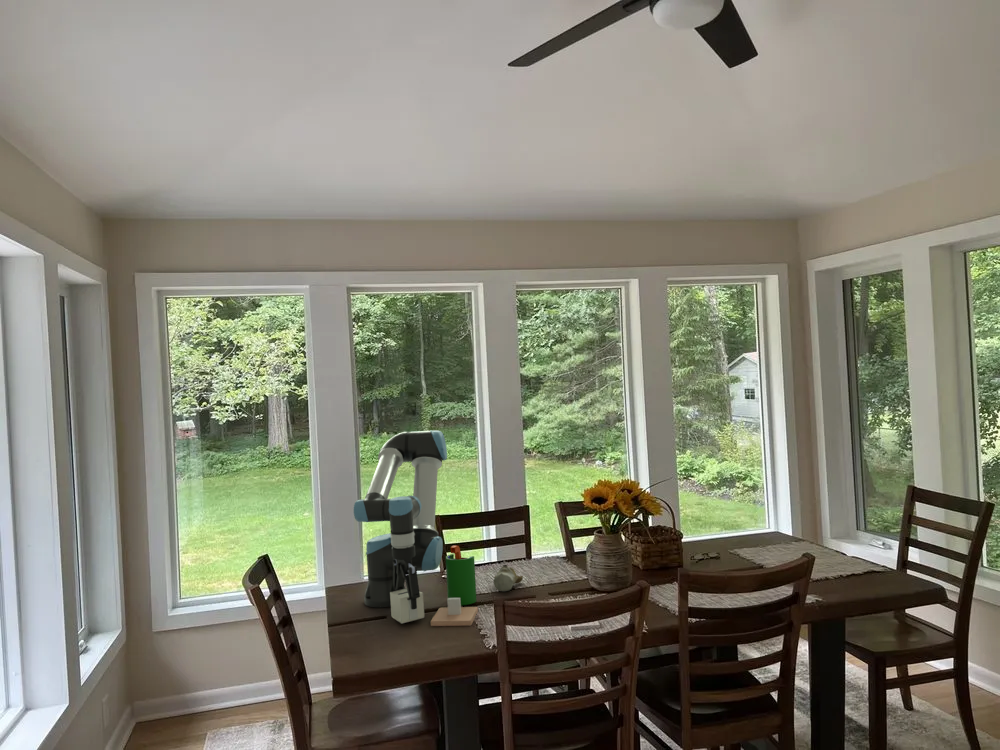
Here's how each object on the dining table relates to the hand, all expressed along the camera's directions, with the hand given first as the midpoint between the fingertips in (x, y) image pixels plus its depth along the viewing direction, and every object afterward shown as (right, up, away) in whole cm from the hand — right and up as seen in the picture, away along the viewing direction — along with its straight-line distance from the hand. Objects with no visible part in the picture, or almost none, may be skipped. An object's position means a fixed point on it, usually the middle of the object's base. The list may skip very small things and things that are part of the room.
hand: (407, 614), depth 232 cm
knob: (0, -1, 0) cm, 1 cm away
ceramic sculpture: (+33, -1, +31) cm, 45 cm away
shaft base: (+15, -1, +1) cm, 15 cm away
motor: (+17, -1, +18) cm, 24 cm away
